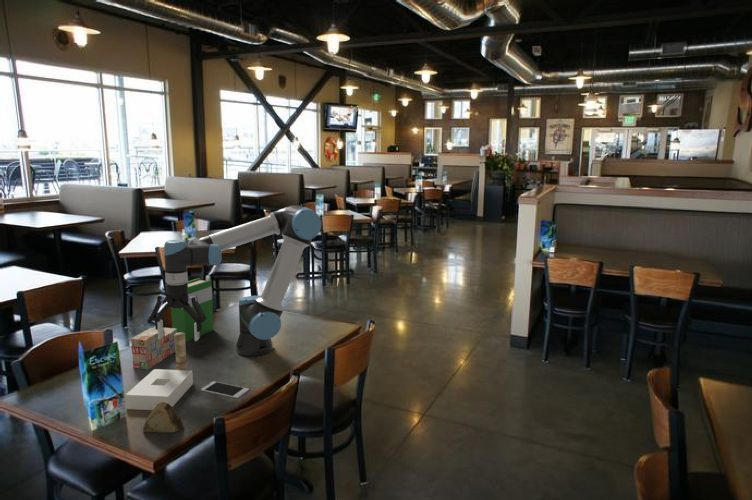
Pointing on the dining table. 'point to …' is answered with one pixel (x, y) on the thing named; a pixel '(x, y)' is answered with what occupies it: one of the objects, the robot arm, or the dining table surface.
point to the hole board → (159, 389)
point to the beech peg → (180, 351)
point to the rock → (163, 419)
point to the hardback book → (184, 320)
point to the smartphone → (225, 389)
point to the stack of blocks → (152, 347)
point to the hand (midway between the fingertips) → (178, 338)
